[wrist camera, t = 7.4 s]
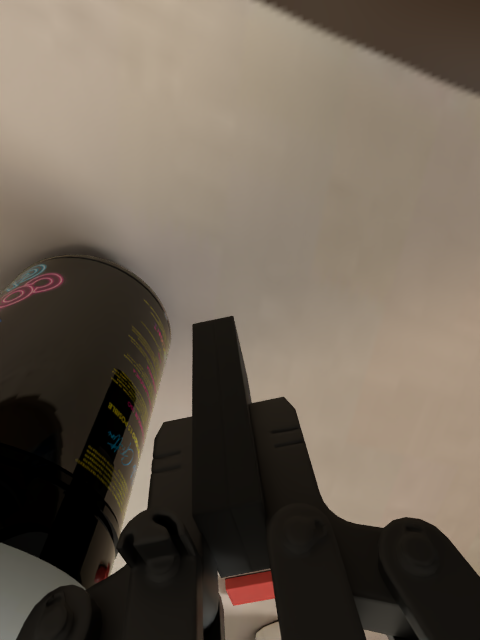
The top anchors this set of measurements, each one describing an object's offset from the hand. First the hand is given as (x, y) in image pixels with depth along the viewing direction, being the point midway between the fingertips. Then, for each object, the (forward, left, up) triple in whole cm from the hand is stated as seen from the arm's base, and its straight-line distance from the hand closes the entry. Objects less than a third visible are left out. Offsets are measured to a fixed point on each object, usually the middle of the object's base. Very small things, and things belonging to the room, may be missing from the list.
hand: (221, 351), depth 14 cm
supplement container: (+5, 0, -4) cm, 7 cm away
